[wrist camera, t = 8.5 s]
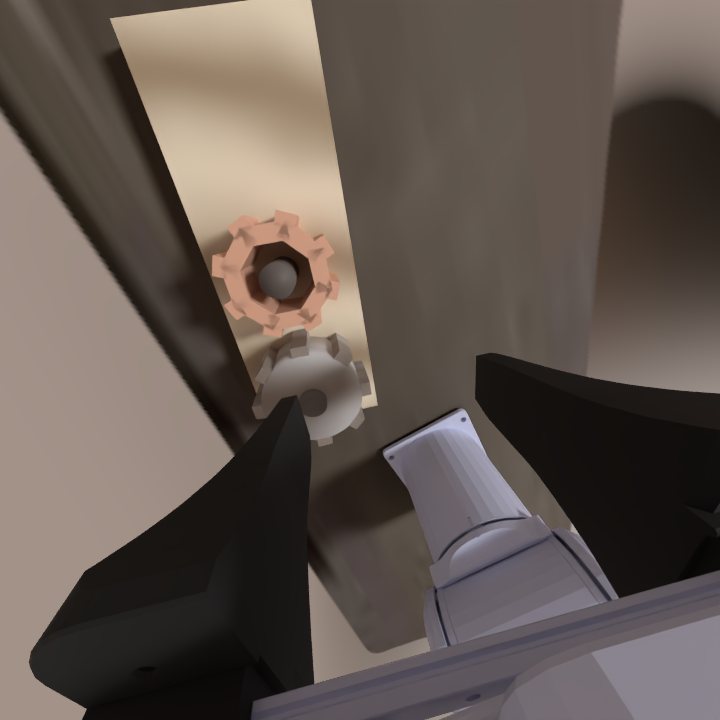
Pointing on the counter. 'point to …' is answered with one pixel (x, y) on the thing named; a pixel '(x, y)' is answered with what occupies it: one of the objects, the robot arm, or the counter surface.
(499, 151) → the counter surface
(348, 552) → the counter surface
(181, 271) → the counter surface
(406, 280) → the counter surface
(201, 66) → the board
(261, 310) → the gear
